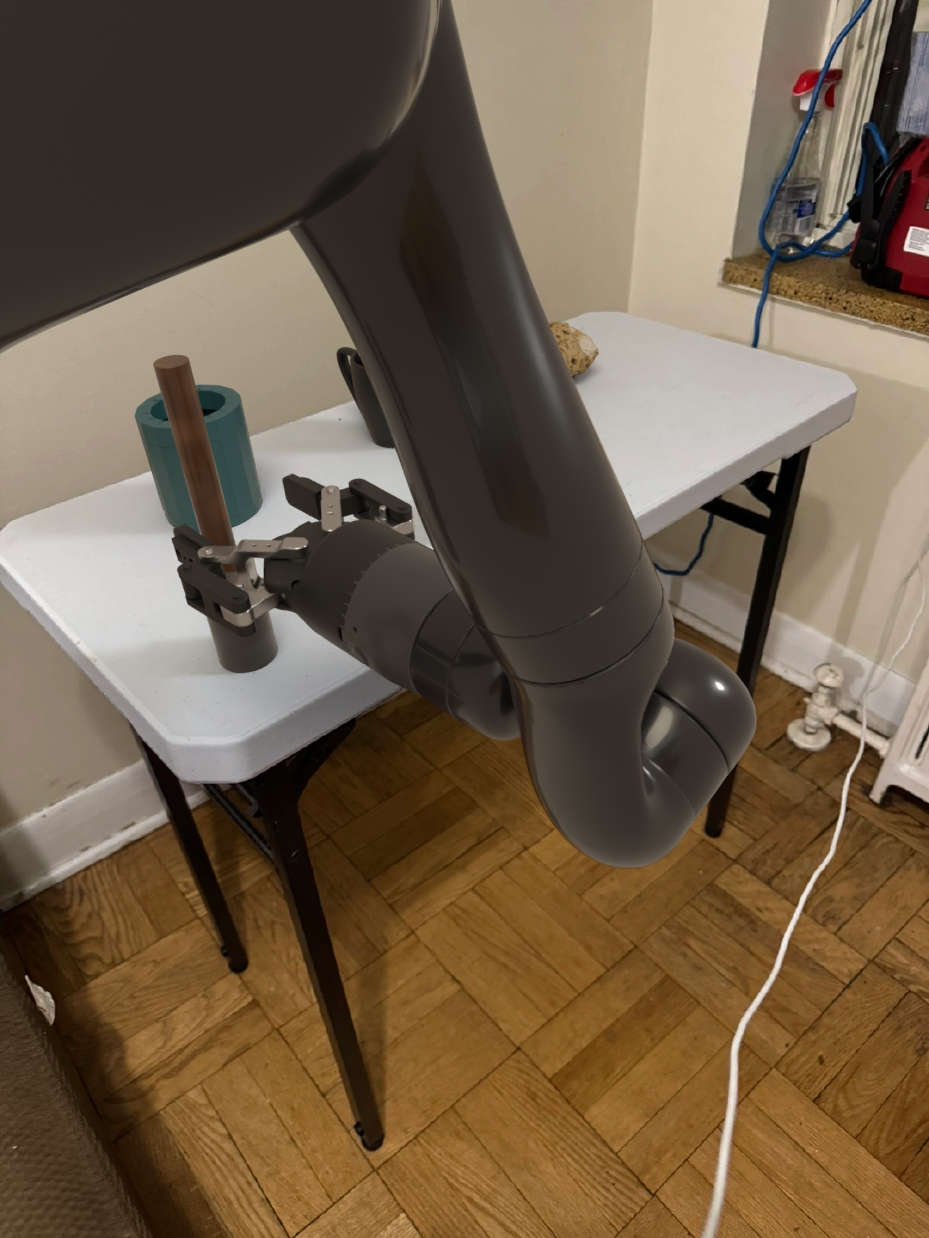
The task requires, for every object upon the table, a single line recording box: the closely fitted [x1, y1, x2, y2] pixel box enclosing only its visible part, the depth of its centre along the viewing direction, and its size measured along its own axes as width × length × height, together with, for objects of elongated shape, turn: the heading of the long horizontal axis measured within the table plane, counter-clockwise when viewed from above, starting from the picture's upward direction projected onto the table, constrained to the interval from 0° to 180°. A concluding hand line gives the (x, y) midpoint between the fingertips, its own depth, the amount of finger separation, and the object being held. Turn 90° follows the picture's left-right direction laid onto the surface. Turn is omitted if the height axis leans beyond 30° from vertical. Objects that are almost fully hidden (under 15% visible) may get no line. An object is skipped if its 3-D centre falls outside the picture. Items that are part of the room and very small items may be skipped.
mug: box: [335, 346, 395, 449], centre depth 96 cm, size 8×12×10 cm
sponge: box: [548, 320, 600, 377], centre depth 103 cm, size 13×8×20 cm
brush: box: [152, 354, 278, 673], centre depth 61 cm, size 5×5×24 cm
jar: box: [134, 384, 264, 534], centre depth 84 cm, size 10×10×11 cm
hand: (236, 512), depth 58 cm, fingers open, 8 cm apart
